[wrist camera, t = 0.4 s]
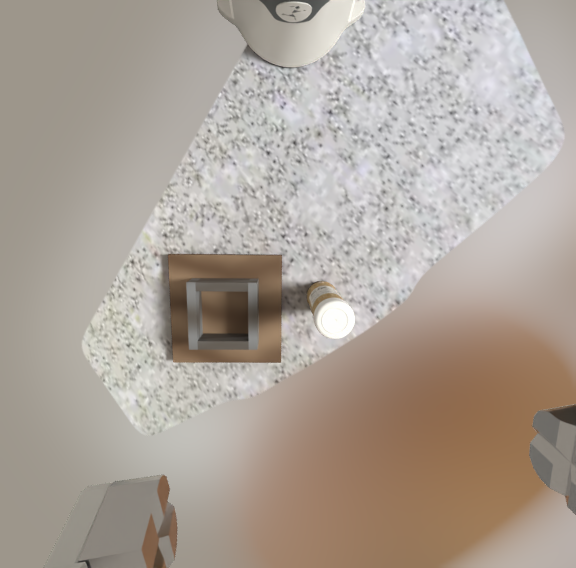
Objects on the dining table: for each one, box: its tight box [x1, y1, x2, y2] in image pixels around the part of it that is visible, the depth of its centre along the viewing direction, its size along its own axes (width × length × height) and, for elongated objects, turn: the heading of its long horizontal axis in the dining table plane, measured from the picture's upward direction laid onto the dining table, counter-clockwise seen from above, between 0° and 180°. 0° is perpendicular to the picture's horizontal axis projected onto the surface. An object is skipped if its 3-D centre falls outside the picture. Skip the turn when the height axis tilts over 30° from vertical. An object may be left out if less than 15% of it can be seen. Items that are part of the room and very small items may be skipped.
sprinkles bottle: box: [307, 281, 355, 339], centre depth 48 cm, size 5×5×14 cm
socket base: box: [168, 254, 282, 363], centre depth 52 cm, size 16×16×5 cm
